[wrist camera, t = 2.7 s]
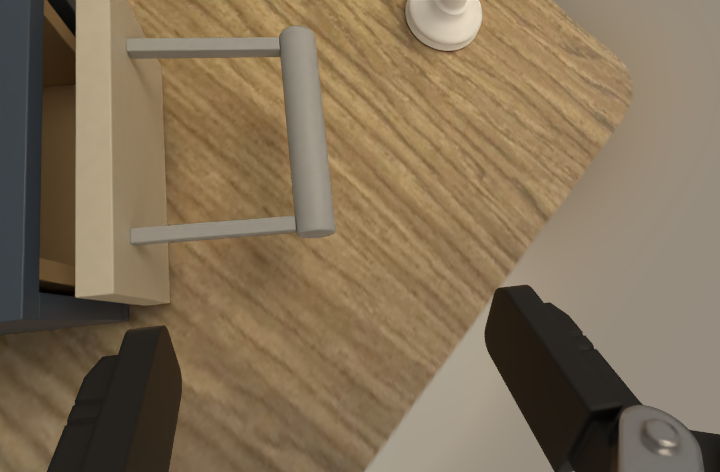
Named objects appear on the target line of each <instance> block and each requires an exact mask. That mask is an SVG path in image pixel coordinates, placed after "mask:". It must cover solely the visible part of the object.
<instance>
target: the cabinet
mask: <svg viewBox="0 0 720 472" xmlns="http://www.w3.org/2000/svg"><path fill="white" fill-rule="evenodd" d="M47 1H48V2H49V4H50V5H51V6H52V8H53V9H54V10H55V12H56V13H57V14H58V15H59V17H60V18H61V19H62V21H63V22H64V23H65V25H66V26H67V27H68V29H69V30H70V31H71V33H72V34H73V35H74V36H75V38H76V0H47ZM43 32H44V0H0V335H6V334H15V333H24V332H33V331H42V330H52V329H61V328H70V327H79V326H88V325H97V324H107V323H116V322H125V321H129V304H126V303H117V302H109V301H100V300H91V299H83V298H76V297H75V295H71V296H65V295H57V294H49V293H40V292H39V263H40V205H41V147H42V90H43Z"/></svg>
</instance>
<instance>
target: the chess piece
mask: <svg viewBox="0 0 720 472" xmlns="http://www.w3.org/2000/svg"><path fill="white" fill-rule="evenodd" d="M405 15H406V20H407V23H408V25H409V28H410V29H411V31H412V32H413V34H414V35H415V36H416V37H417V38H418V39H419V40H420V41H421V42H423V43H424V44H426V45H428V46H429V47H432V48H434V49H438V50H443V51H453V50H458V49H461V48H463V47H465V46H467V45H468V44H470V43H471V42H472V41H473V40H474V38H475V37H476V35H477V33H478V30H479V28H480V25H481V22H482V8H481V5H480V2H479V0H407V3H406V8H405Z"/></svg>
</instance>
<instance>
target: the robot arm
mask: <svg viewBox="0 0 720 472" xmlns="http://www.w3.org/2000/svg"><path fill="white" fill-rule="evenodd" d="M485 343H486V347H487V350H488V352H489V354H490V356H491V358H492V360H493V362H494V363H495V365H496V367H497V369H498V371H499V373H500V374H501V376H502V378H503V380H504V381H505V383H506V385H507V387H508V389H509V391H510V392H511V394H512V396H513V398H514V399H515V401H516V403H517V405H518V407H519V408H520V410H521V412H522V414H523V415H524V418H525V419H526V421H527V423H528V424H529V426H530V428H531V430H532V432H533V434H534V436H535V437H536V439H537V441H538V443H539V445H540V446H541V448H542V450H543V452H544V454H545V455H546V457H547V459H548V461H549V463H550V464H551V466H552V468H553V470H554V471H555V472H572V471H575V472H720V435H719V434H712V433H706V432H699V431H692V430H689V429H688V428H687V427H686V426H684V425H683V424H682V423H681V422H680V421H679V420H677V419H676V418H674V417H673V416H671V415H670V414H668V413H666V412H664V411H662V410H660V409H657V408H654V407H650V406H645V405H642V403H640V401H639V400H638V399H637V398H636V397H635V396H634V394H633V393H632V392H631V391H630V389H629V388H628V387H627V386H626V384H625V383H624V382H623V381H622V380H621V378H620V377H619V376H618V375H617V373H615V371H614V370H613V369H612V368H611V366H610V365H609V364H608V363H607V361H606V360H605V359H604V358H603V357H602V355H601V354H600V353H599V352H598V351H597V350H596V349H594V347H593V344H592V343H591V342H590V341H589V340H588V338H587V337H586V336H583V334H582V331H581V330H580V329H579V327H578V326H577V325H576V324H575V323H574V321H573V320H572V319H571V318H570V317H569V315H567V314H566V313H564V312H563V311H561V310H560V309H559V308H557V307H556V306H554V305H553V304H551V303H543V301H542V300H541V299H540V298H539V296H538V295H537V294H536V292H535V291H534V290H533V289H532V288H531V287H530V286H528V285H520V286H511V287H502V288H498V289H497V290H496V291H495V293H494V297H493V300H492V304H491V308H490V312H489V316H488V320H487V323H486V327H485ZM181 393H182V378H181V371H180V367H179V364H178V360H177V357H176V354H175V351H174V348H173V345H172V342H171V338H170V335H169V332H168V329H167V328H166V326H155V327H146V328H137V329H129V330H128V331H127V332H126V333H125V336H124V339H123V341H122V344H121V347H120V350H119V353H118V355H113V356H105V357H102V358H101V359H100V360H99V361H98V363H97V364H96V365H95V366H94V367H93V368H92V369H91V371H90V372H89V373H88V374H87V375H86V376H85V377H84V379H83V382H82V384H81V387H80V390H79V392H78V395H77V397H76V400H75V406H73V407H72V410H71V412H70V415H69V417H68V420H67V422H68V423H67V425H66V426H65V427H64V430H63V432H62V435H61V437H60V440H59V442H58V445H57V447H56V450H55V452H54V455H53V457H52V460H51V462H50V465H49V467H48V470H47V472H168V471H169V465H170V459H171V454H172V448H173V442H174V436H175V430H176V424H177V418H178V412H179V406H180V400H181Z"/></svg>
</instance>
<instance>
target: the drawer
mask: <svg viewBox="0 0 720 472" xmlns="http://www.w3.org/2000/svg"><path fill="white" fill-rule="evenodd" d="M230 57H281V68H282V79H283V90H284V101H285V112H286V123H287V134H288V146H289V157H290V168H291V179H292V190H293V201H294V212H295V216H284V217H271V218H257V219H244V220H231V221H218V222H204V223H191V224H178V225H167V201H166V174H165V146H164V118H163V91H162V68H161V66H160V64H159V62H158V60H157V59H160V58H230ZM335 231H336V228H335V219H334V210H333V200H332V191H331V182H330V172H329V163H328V153H327V144H326V135H325V125H324V116H323V107H322V97H321V88H320V78H319V69H318V60H317V50H316V41H315V35H314V33H313V32H312V31H311V30H310V29H308V28H306V27H303V26H291V27H288V28H286V29H284V30H283V31H282V32H281V33H280V35H279V38H278V37H255V38H146V36H145V34H144V33H143V31H142V29H141V27H140V25H139V23H138V21H137V19H136V17H135V15H134V13H133V11H132V9H131V7H130V5H129V3H128V1H127V0H76V38H75V36H74V35H73V34H72V33H71V31H70V30H69V29H68V27H67V26H66V25H65V23H64V22H63V21H62V19H61V18H60V17H59V15H58V14H57V13H56V12H55V10H54V9H53V8H52V6H51V5H50V4H49V2H48V1H47V0H44V32H43V90H42V147H41V205H40V263H39V292H40V293H49V294H57V295H65V296H71V295H75V297H76V298H83V299H91V300H100V301H109V302H117V303H126V304H134V305H143V306H148V305H157V304H167V303H170V284H169V257H168V243H175V242H187V241H199V240H211V239H224V238H236V237H248V236H260V235H272V234H285V233H295V232H296V234H297V236H298V237H301V238H319V237H325V236H329V235H332V234H334V233H335Z"/></svg>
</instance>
